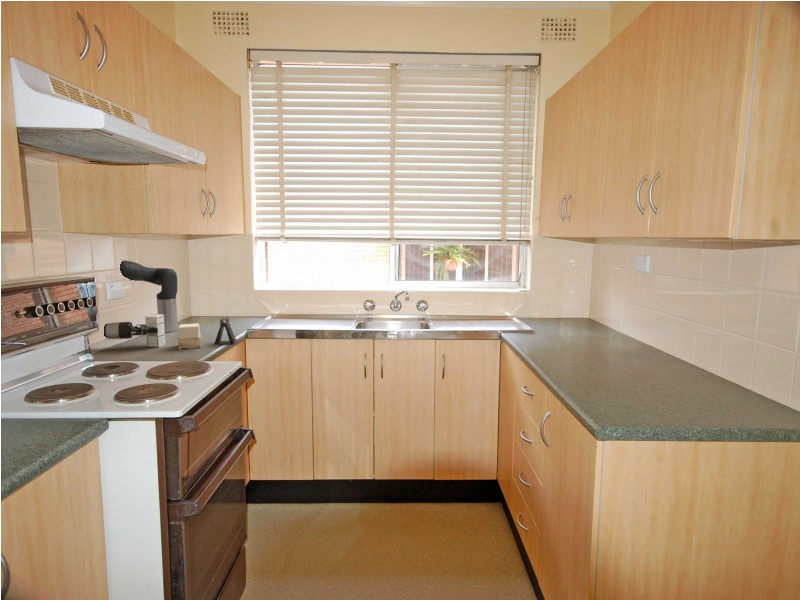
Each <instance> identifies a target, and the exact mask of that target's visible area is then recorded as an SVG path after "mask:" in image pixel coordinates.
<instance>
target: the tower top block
mask: <svg viewBox="0 0 800 600" xmlns="http://www.w3.org/2000/svg"><path fill="white" fill-rule="evenodd" d="M200 331H201V330H200V323H183V324H182V323H181V324H180V325H179V326H178V338H179V339H181V338H197V337H199V335H200V334H201V332H200Z"/></svg>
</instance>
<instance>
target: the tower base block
mask: <svg viewBox="0 0 800 600" xmlns="http://www.w3.org/2000/svg"><path fill="white" fill-rule="evenodd" d="M202 337H203V335H202V333H200V335H199V337H197V338H181V339H179V337H178V339H177V340H178V341H177V343H178V350H182V349H181V348H190V349H197V348H196V347H202V345H201V344H203V340H202V339H203V338H202Z"/></svg>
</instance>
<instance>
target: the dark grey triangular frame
mask: <svg viewBox="0 0 800 600" xmlns="http://www.w3.org/2000/svg"><path fill="white" fill-rule="evenodd" d="M219 324H220V325H219V328H218V331H217V335H216V338H215V340H214V345H215V344H220V345H235V343H236V342H237V338H236V336H235V334H234V332H233V329H232V327H231V324H230V319H229V317H228V316H226V317H225V316H224V317H223V318H221V319H220V321H219ZM224 328H225V331H226V334H227V336H228V340H222V337H223V333H224Z"/></svg>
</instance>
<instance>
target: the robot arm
mask: <svg viewBox="0 0 800 600" xmlns="http://www.w3.org/2000/svg"><path fill="white" fill-rule="evenodd" d="M123 260H124V261H122V262H121V264H120V271H121V273H122V275H123V276H124V277H126V278H128V279H130V280H129V281H132V280H134V282H137V281H138V282H140V281H141V282H145V283H150V284H153V285H157V286H159V287H160V286H161V291H159V292H157V293H156V307H157V309H156V311H157V314H163V315H164V330H165V333H173V332H177V331H179V326H178V323H179V322H178V311H177V310H178V308H177V307H178V305H177V295H178V275H177V272H176V271H175V270H174V269H172V268H164V267H163V268H162V267H159V268H158V267H147V266H143V265H142V264H140V263H138V262H135V261H130V260H127V259H123ZM106 323H107V324H105V326H104V336H105V337H106V338H108V339H107V340H126V339H128V340H129V339H131V338H133V337H134V336H147V335H146V334H148V333H158V328H149V329H148V328H146V323H143V324H142V323H141V324H136V325H134V326H133V322H131V321H117V322H116V321H115V322H106Z"/></svg>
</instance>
